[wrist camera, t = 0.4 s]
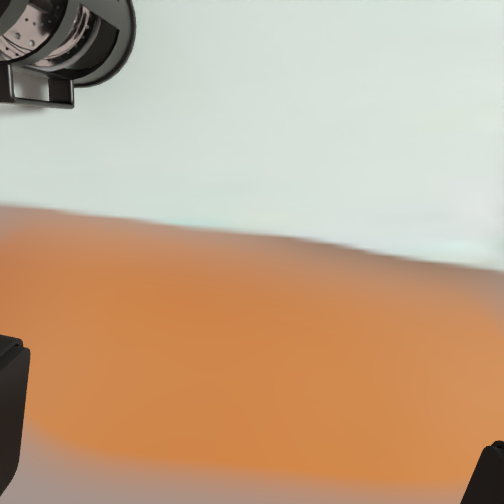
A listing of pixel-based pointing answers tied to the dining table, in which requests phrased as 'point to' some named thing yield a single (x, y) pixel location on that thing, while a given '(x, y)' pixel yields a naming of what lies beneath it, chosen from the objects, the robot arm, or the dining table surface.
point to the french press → (60, 45)
